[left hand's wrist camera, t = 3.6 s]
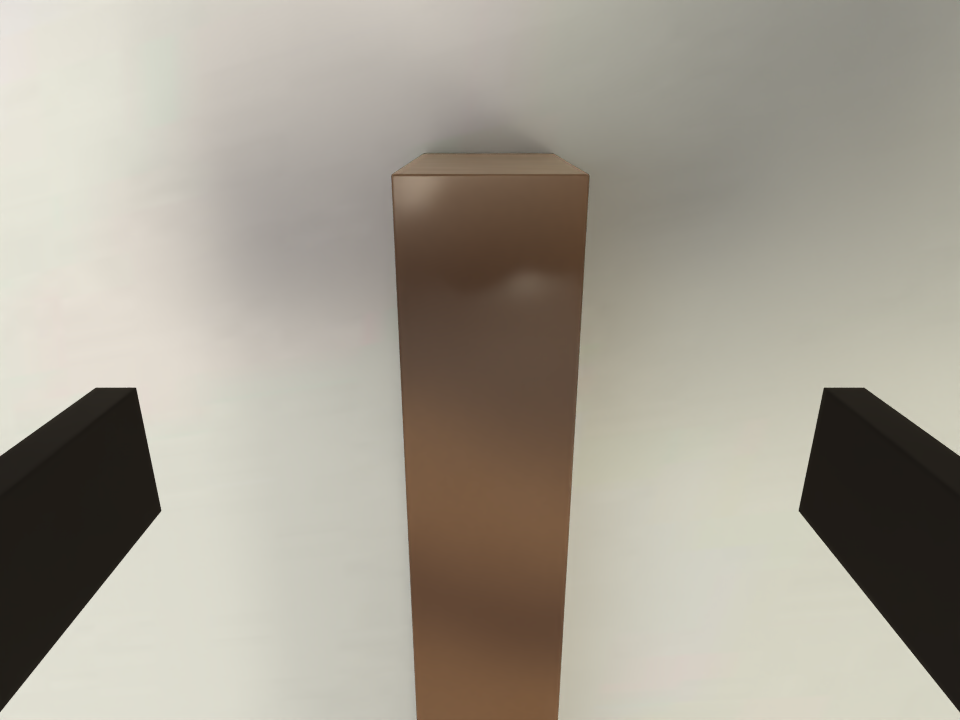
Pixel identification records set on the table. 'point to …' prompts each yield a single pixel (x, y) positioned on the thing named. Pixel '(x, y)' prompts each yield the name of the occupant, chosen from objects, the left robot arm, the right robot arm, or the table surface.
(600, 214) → the table surface
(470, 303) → the bar
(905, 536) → the left robot arm
